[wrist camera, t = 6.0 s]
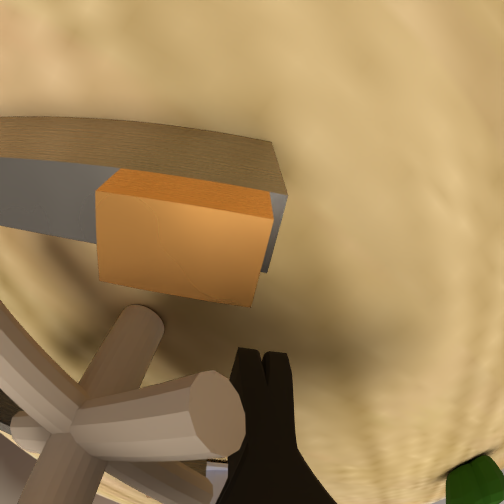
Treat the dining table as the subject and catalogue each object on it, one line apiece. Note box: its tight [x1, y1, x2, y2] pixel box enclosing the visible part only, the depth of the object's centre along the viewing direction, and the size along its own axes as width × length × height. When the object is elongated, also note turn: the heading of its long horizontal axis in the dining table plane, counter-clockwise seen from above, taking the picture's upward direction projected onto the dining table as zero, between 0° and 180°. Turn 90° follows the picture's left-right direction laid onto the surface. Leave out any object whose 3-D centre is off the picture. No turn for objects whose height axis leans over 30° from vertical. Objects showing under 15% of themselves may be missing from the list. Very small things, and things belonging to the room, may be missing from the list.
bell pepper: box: [446, 455, 504, 504], centre depth 23 cm, size 8×8×10 cm
